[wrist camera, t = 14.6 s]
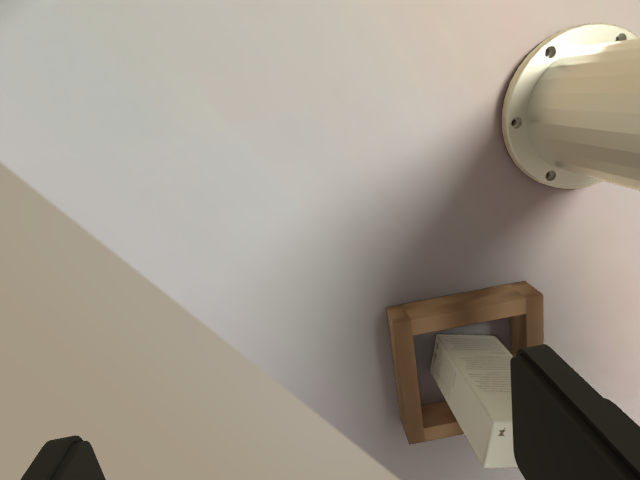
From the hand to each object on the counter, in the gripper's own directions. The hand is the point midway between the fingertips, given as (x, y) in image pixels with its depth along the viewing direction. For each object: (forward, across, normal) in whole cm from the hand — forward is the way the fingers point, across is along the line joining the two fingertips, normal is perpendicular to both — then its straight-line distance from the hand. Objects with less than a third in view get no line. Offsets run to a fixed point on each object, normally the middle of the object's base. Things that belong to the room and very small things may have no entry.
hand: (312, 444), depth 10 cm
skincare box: (+28, -13, +19) cm, 37 cm away
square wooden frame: (+28, -13, +19) cm, 36 cm away
